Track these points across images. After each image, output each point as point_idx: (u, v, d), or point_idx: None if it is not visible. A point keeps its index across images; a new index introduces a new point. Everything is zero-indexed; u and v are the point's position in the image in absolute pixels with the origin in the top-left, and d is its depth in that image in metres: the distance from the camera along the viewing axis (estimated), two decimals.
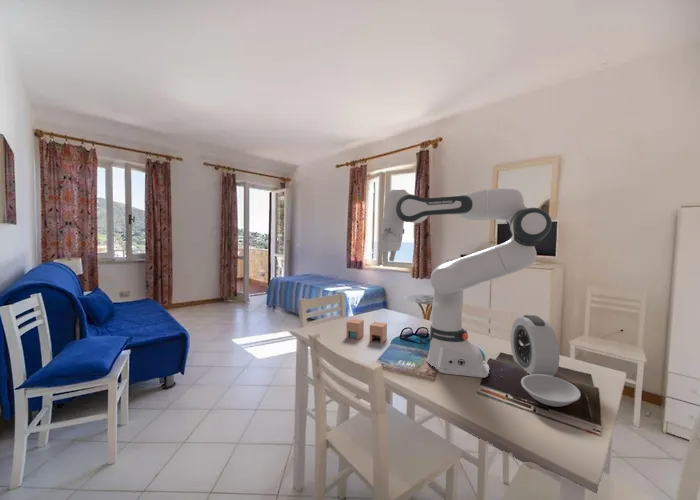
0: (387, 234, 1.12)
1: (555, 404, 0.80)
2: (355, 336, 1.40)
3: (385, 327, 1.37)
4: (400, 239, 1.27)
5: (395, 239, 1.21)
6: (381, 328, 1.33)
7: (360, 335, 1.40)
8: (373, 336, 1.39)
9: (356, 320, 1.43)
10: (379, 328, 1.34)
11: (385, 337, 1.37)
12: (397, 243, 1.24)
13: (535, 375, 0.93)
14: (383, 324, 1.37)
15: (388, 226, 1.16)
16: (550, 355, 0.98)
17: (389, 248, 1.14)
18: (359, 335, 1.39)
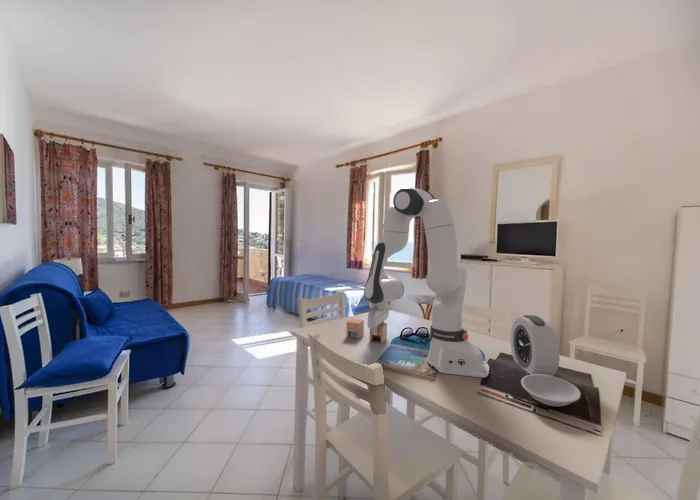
0: (374, 313, 1.28)
1: (555, 404, 0.80)
2: (355, 336, 1.40)
3: (385, 327, 1.37)
4: (387, 309, 1.43)
5: (382, 312, 1.38)
6: (381, 328, 1.33)
7: (360, 335, 1.40)
8: (373, 336, 1.39)
9: (356, 320, 1.43)
10: (379, 328, 1.34)
11: (385, 337, 1.37)
12: (384, 314, 1.40)
13: (535, 375, 0.93)
14: (383, 324, 1.37)
15: (374, 303, 1.33)
16: (550, 355, 0.98)
17: (377, 324, 1.30)
18: (359, 335, 1.39)
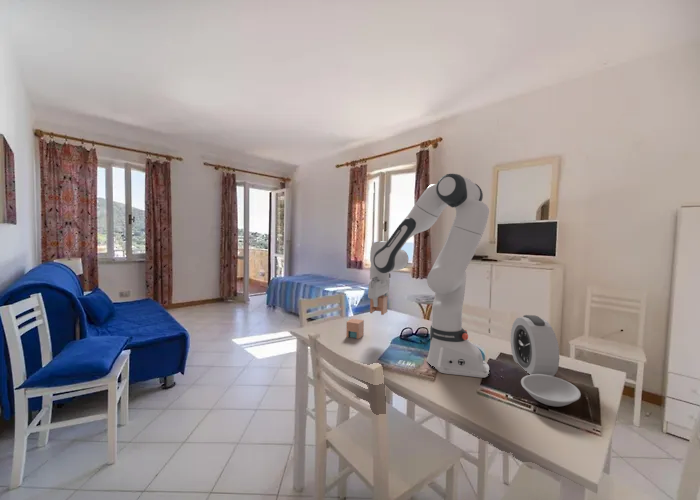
0: (374, 283, 1.28)
1: (555, 404, 0.80)
2: (355, 336, 1.40)
3: (386, 299, 1.36)
4: (388, 282, 1.43)
5: (383, 284, 1.37)
6: (382, 300, 1.33)
7: (360, 335, 1.40)
8: (374, 309, 1.39)
9: (356, 320, 1.43)
10: (380, 300, 1.33)
11: (386, 309, 1.37)
12: (385, 287, 1.40)
13: (535, 375, 0.93)
14: (384, 296, 1.36)
15: (375, 275, 1.32)
16: (550, 355, 0.98)
17: (377, 295, 1.30)
18: (359, 335, 1.39)
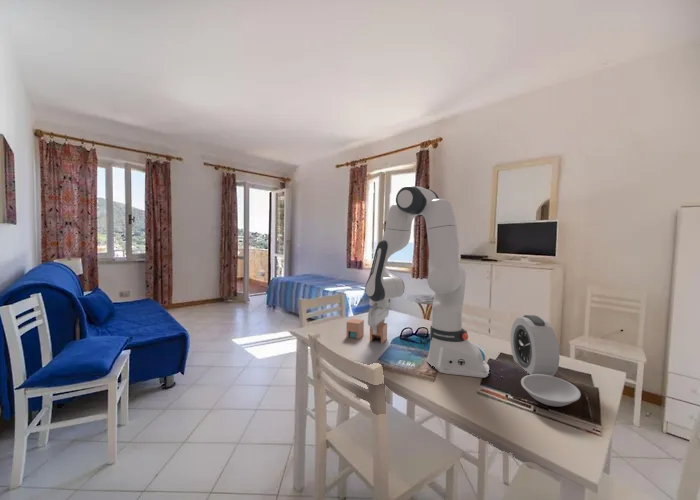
0: (374, 311, 1.28)
1: (555, 404, 0.80)
2: (355, 336, 1.40)
3: (385, 327, 1.37)
4: (387, 307, 1.43)
5: (382, 310, 1.38)
6: (381, 328, 1.33)
7: (360, 335, 1.40)
8: (373, 336, 1.39)
9: (356, 320, 1.43)
10: (379, 328, 1.34)
11: (385, 337, 1.37)
12: (385, 312, 1.40)
13: (535, 375, 0.93)
14: (383, 324, 1.37)
15: (374, 301, 1.33)
16: (550, 355, 0.98)
17: (377, 322, 1.30)
18: (359, 335, 1.39)
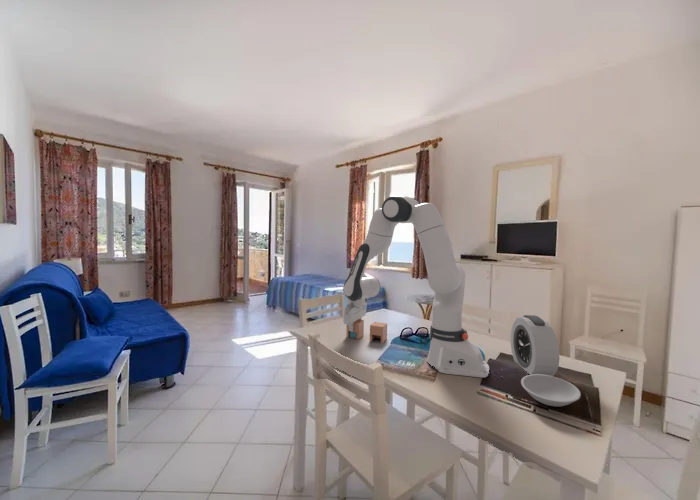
0: (349, 310, 1.33)
1: (555, 404, 0.80)
2: (355, 336, 1.40)
3: (385, 327, 1.37)
4: (365, 306, 1.48)
5: (359, 309, 1.43)
6: (381, 328, 1.33)
7: (360, 335, 1.40)
8: (373, 336, 1.39)
9: None
10: (379, 328, 1.34)
11: (385, 337, 1.37)
12: (362, 311, 1.45)
13: (535, 375, 0.93)
14: (383, 324, 1.37)
15: (351, 301, 1.38)
16: (550, 355, 0.98)
17: (353, 320, 1.35)
18: (359, 335, 1.39)
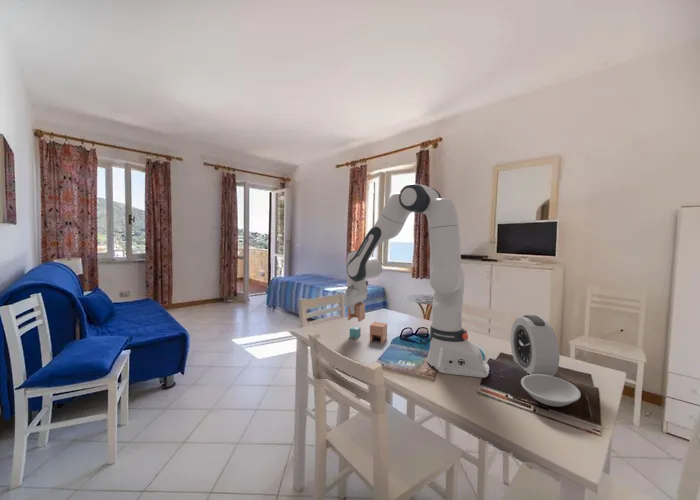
0: (350, 291, 1.33)
1: (555, 404, 0.80)
2: (355, 336, 1.40)
3: (385, 327, 1.37)
4: (365, 289, 1.48)
5: (360, 292, 1.42)
6: (381, 328, 1.33)
7: (361, 318, 1.40)
8: (373, 336, 1.39)
9: (357, 303, 1.43)
10: (379, 328, 1.34)
11: (385, 337, 1.37)
12: (363, 294, 1.45)
13: (535, 375, 0.93)
14: (383, 324, 1.37)
15: (351, 283, 1.38)
16: (550, 355, 0.98)
17: (354, 302, 1.35)
18: (360, 318, 1.39)
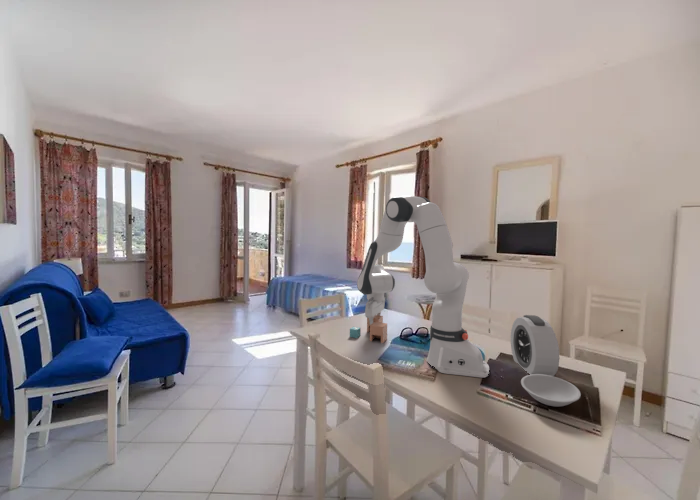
0: (371, 304, 1.42)
1: (555, 404, 0.80)
2: (355, 336, 1.40)
3: (385, 327, 1.37)
4: (383, 301, 1.57)
5: (378, 303, 1.51)
6: (381, 328, 1.33)
7: None
8: (373, 336, 1.39)
9: (376, 316, 1.52)
10: (379, 328, 1.34)
11: (385, 337, 1.37)
12: (381, 305, 1.54)
13: (535, 375, 0.93)
14: (383, 324, 1.37)
15: (371, 295, 1.46)
16: (550, 355, 0.98)
17: (374, 314, 1.44)
18: None
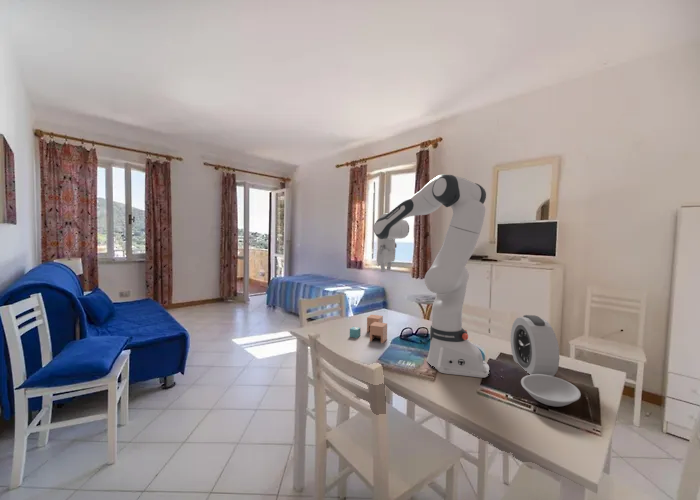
0: (382, 249, 1.44)
1: (555, 404, 0.80)
2: (355, 336, 1.40)
3: (385, 327, 1.37)
4: (394, 252, 1.58)
5: (389, 252, 1.53)
6: (381, 328, 1.33)
7: None
8: (373, 336, 1.39)
9: (376, 316, 1.52)
10: (379, 328, 1.34)
11: (385, 337, 1.37)
12: (391, 255, 1.55)
13: (535, 375, 0.93)
14: (383, 324, 1.37)
15: (383, 243, 1.48)
16: (550, 355, 0.98)
17: (385, 260, 1.45)
18: None
